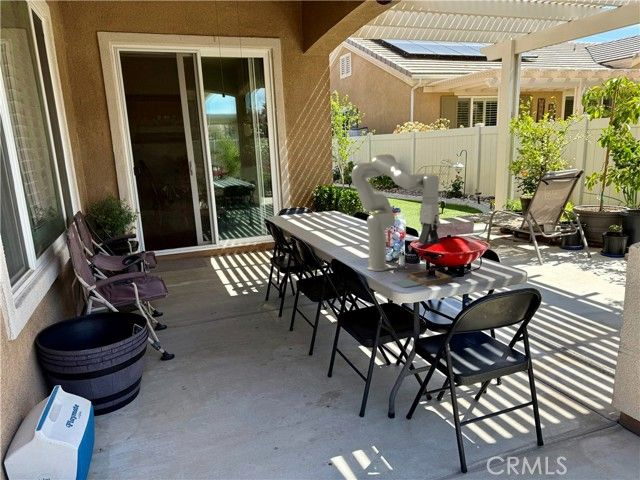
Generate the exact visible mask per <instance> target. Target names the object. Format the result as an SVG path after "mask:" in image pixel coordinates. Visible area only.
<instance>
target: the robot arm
mask: <svg viewBox="0 0 640 480" xmlns="http://www.w3.org/2000/svg"><path fill="white" fill-rule="evenodd" d="M371 159H372V160H371V162H361V163H357V164H356V165H354V166H353V168H352V170H351V182H352V184H353V186H354V188H355V190H356V192H357V194H358V195H357V196H358V197H359V200H360V203H361V205H362V208H363V209H364V211H365V212H368V213H371V214H369V216H367V219H366V227H367V231H368V259H367V260H366V261H367V263H368V264H367V265H366V266H365V268H366V270H369V271H372V272H373V271H374V272H382V271H386V270H387V271H388V270H389V268H390V266H389V265H388V264H387V240H386V239H387V237H386V233H385V231H384V230H385V229H388V228H389V229H390V228H392V227H393V226H394V225H395V222H396V216H395V214H394V211H393V209H392V206H391V204H390V201H389V199H388V197H387V196H386V195H384V194H383V193H375V191H374V188H373V186H372V184H371V183H370V182H369V181H368V180H367V179H371V178H377V177H380V176H382V175H386V176H387V177H389V178H391V180H392V181H393V182H394V184H395V185H397V186H399V187H401V188H402V189H404V190H406V191H415V190H422V196H421V197H422V198H421V199H422V200H421V204H420V208H419V209H420V211H419V218H418V219H419V222H420V224H421V230H422V229H423V226H424V223H426V224H431V228H432V230H431V238H434V237H437V234H438V231H437V230H438V229H439V226H440V225H441V223H442V222H441V221H440V209H439V182H440V179H439V178H440V177H439V175H438V174H437V175H436V174H424V173H416V174H410V173H409V174H408V173H407V172H405V171H403V166H402V164H401V163H400V162H397V160H396V158H395V156H394V155H392V154H377V155H375V156H374V157H373V158H371ZM372 212H375V213H372ZM434 222H435V223H434ZM433 225H435V226H433Z"/></svg>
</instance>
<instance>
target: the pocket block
mask: <svg viewBox="0 0 640 480" xmlns="http://www.w3.org/2000/svg"><path fill="white" fill-rule="evenodd" d="M429 270H430V269H426V270H421V271H420V270H419V271H414V272H410V273H406V279H410V280H413V281H415V282H417V283H420V284H421V285H420V286H424V287H431V286H437V285H441V284H447V283H452V282H453V277H452V276H450V275H447V274H445V273H442V272H440V271H438V270H435V275H436V276H437V277H436V276H435V277H436V278H433V279H429V280H426V279H425V280H424V278H420V276H421V277H424V276H428V275H427V274H428V272H429ZM439 277H440V278H439Z"/></svg>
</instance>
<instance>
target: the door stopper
mask: <svg viewBox="0 0 640 480" xmlns="http://www.w3.org/2000/svg"><path fill="white" fill-rule="evenodd" d="M434 223H435V222H434ZM433 226H435V225H433ZM431 230H432V228H431V224H426V223H424V226H423V229H422V228H421V233H420V236H419V238H418V241H417V242H418V243H419V244H421V245H424V246H426V245H427V246H428V245H437V244H441V242H440V238H439V234H438V233H437V237H434V238H431ZM429 238H430V240H429Z"/></svg>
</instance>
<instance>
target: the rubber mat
mask: <svg viewBox="0 0 640 480" xmlns="http://www.w3.org/2000/svg"><path fill="white" fill-rule="evenodd" d="M392 284H394V285H396V286H399V287H401V288H403V289H407V288H412V287H418V286H422V285H421V284H420V283H417V282H415V281H413V280H410V279H407V278H406V279H401V280H395V281H392Z"/></svg>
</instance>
